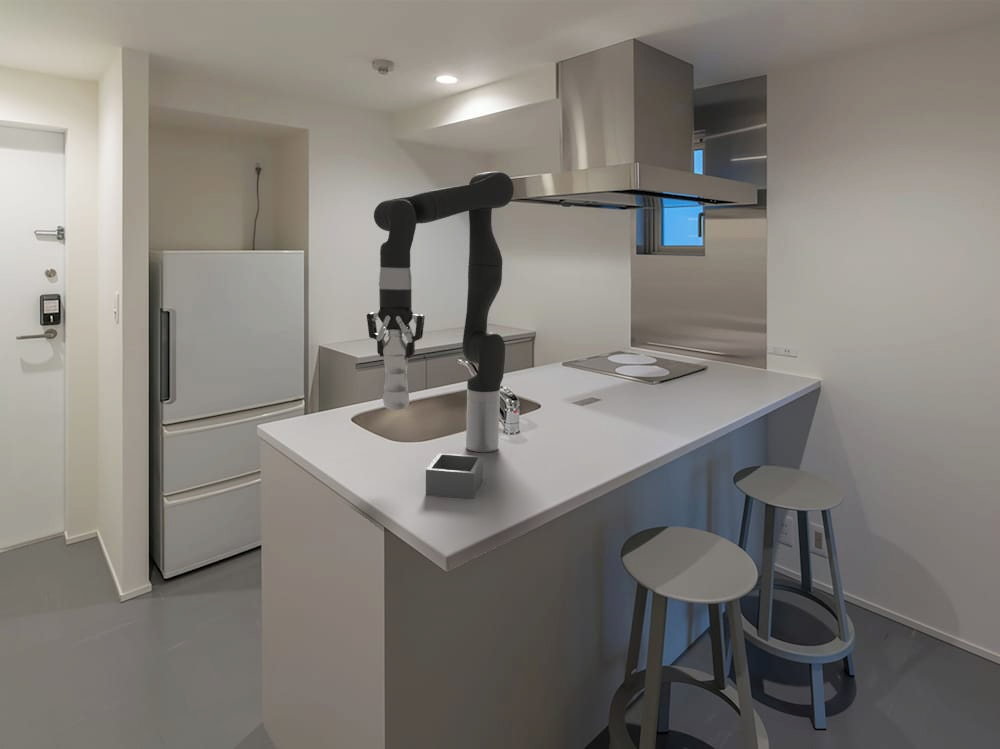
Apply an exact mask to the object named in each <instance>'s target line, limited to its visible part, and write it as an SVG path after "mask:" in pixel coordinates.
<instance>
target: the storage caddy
mask: <svg viewBox="0 0 1000 749" xmlns="http://www.w3.org/2000/svg"><path fill="white" fill-rule="evenodd" d="M483 474H484V456H481V455H467V454H459V453H457V454H456V453H445V452H444V453H443V452H439V453H438V454H436V456H435V457H434V459H433V460H432V461H431V462H430V464H429V465H428V466H427V467H426V469H425V495H426V496H436V497H448V498H456V499H457V498H460V499H468V500H469V499H471V500H473V499H475V497H476V494H477V493H478V491H479V489H480V487H481V484H482V482H483V477H484V475H483Z"/></svg>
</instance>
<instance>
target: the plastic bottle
mask: <svg viewBox="0 0 1000 749" xmlns="http://www.w3.org/2000/svg"><path fill="white" fill-rule="evenodd" d="M387 336H388V339H387V340H386V341H385V345H384V347H383V364H384V372H385V374H384V375H385V376H384V377H385V379H384V388H383V389H384V391H383V395H382V401H383V402H382V403H383V406H384V407H385V408H386V409H387V410H393V411H400V410H404V409H406V408H407V407H408V406H409V403H410V392H409V390H408V388H409V387H408V377H407V376H408V373H407V372H408V362H409V358H407V342H406V341H405V340H404V336H405V335H404V334H403V332H402V330H401V329H389V330H388V332H387Z"/></svg>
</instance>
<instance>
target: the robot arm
mask: <svg viewBox="0 0 1000 749" xmlns="http://www.w3.org/2000/svg"><path fill="white" fill-rule="evenodd" d="M514 188H515V187H514V183H513V180H512V179H511V177H510V176H509V175H508V174H506V173H504V172H501V171H488V172H481V173H476V174H474V175H473V176H472V178H471V179H470V180H469V184H463V185H457V186H450V187H443V188H438V189H432V190H427V191H425V192H419V193H417V194H414V195H411V196H406V197H400V198H391V199H387V200H383V201H382V202H380V203H379V204H378V205H377V206H376V207H375V209H374V211H373V219H374V222H375V225H376V226H377V227H378V228H379V229H381V230H383V231H386V232H388V239H387V241H385V242H383V243H381V245H380V250H379V251H380V252H379V256H380V258H379V260H380V263H379V267H380V268H379V269H380V270H379V276H378V277H379V279H378V280H379V281H378V287H379V295H378V296H379V310H378V312H369V313H367V314H366V322H367V330H368V337H369V338H370V339H374V340H376V346H377V348H376V349H377V350H376V351H377V354H378V355H379V357H380V358H381V357H383V347H384V345H385V343H386V340H385V338H386V337H387V335H388V330H389V329H401V330H402V332H403V334H404V336H405V338H406V340H407V342H406V344H407V358H408V359H411V358H412V357H413V356H414V355H415V351H416V349H415V346H416V344H415V343H416V341H419V340H421V339H423V334H424V328H425V327H424V326H425V319H426V317H425V315H424V314H415V313H414V312H413V310H412V307H413V306H412V304H413V302H412V273H411V249H412V246H413V242H414V237H415V233H416V228H417V225H418V224H427V223H428V224H429V223H431V222H436V221H439V220H442V219H445V218H449V217H452V216H456V215H458V214H461V213H465V212H468V220H469V221H468V222H469V223H468V224H469V245H468V246H469V248H468V249H469V251H468V252H469V255H468V270H467V298H466V300H467V301H466V313H465V314H466V316H465V321H464V328H463V337H462V354H463V356H464V358H465V360H467V361H468V362H470V363H474V364H478V367H477V373H476V375H473V376H470V377H469V378H468V379H467V386H466V387H467V389H466V390H467V393H466V433H465V435H466V436H465V437H466V439H465V442H466V443H465V448H466V449H467V450H469V451H471V452H476V453H491V452H495V451H497V450H498V449H499V435H500V408H501V407H500V406H501V385H502V384H501V383H502V381H503V378H504V373H505V362H506V344H505V341H504V338H503V337H502V336H501V334H498V333H495V332H490V331H488V318H489V317H488V316H489V313H490V312H489V311H490V309H491V306H492V304H493V302H494V300H495V299H496V298H497V295H498V293H499V291H500V288H501V286H502V283H503V282H502V280H503V256H502V254H501V250H500V248H499V245H498V242H497V240H496V238H495V236H494V233H493V227H492V214H493V209H500V208H503V207H506V206H508V204H509V203H510V202H511V200H512V199H513V197H514V193H515V189H514ZM378 318H379V320H380V322H381V323H382V324H381V326H380V328H379V330H378V329H377V321H378ZM412 320H414V321H413V322H414V324H415V334H414V333H413V330H412V327H411V325H410V323H411V322H412ZM378 331H379V332H378Z"/></svg>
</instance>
